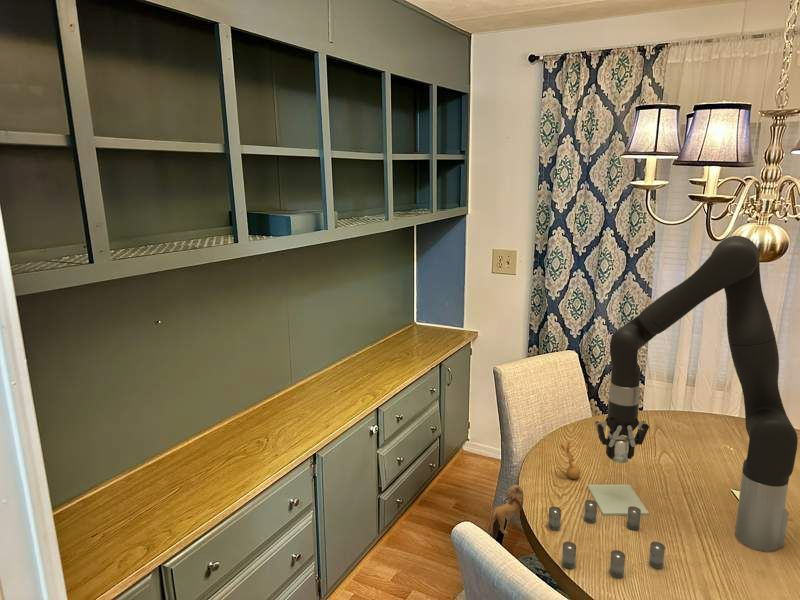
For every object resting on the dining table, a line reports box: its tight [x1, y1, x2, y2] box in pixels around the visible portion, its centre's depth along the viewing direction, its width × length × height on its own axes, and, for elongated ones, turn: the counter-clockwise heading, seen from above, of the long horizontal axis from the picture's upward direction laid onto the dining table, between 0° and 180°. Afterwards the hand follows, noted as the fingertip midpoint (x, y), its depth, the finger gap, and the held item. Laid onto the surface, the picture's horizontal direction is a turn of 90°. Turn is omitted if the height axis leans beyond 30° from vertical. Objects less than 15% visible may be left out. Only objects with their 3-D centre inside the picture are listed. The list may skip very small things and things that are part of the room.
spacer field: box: [548, 499, 666, 580], centre depth 133 cm, size 23×23×5 cm
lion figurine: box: [486, 484, 524, 539], centre depth 141 cm, size 15×5×9 cm, turn 142°
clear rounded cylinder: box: [611, 435, 630, 464], centre depth 149 cm, size 4×4×6 cm
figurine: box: [560, 439, 582, 480], centre depth 163 cm, size 8×6×12 cm
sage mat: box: [587, 483, 650, 516], centre depth 152 cm, size 12×14×1 cm
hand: (619, 457), depth 149 cm, fingers closed on clear rounded cylinder, 4 cm apart
